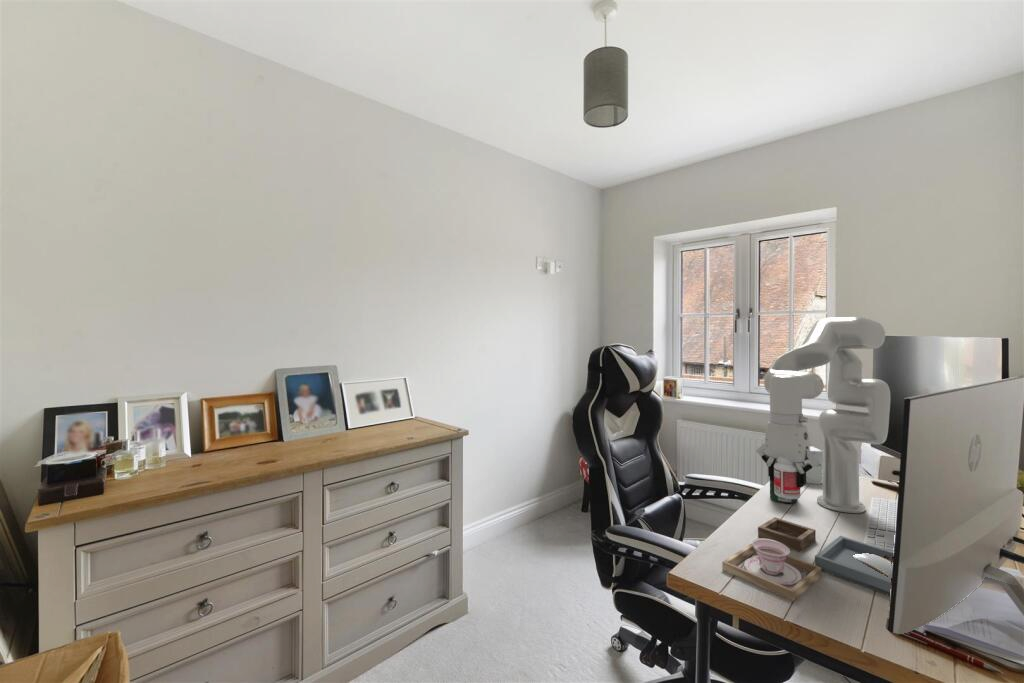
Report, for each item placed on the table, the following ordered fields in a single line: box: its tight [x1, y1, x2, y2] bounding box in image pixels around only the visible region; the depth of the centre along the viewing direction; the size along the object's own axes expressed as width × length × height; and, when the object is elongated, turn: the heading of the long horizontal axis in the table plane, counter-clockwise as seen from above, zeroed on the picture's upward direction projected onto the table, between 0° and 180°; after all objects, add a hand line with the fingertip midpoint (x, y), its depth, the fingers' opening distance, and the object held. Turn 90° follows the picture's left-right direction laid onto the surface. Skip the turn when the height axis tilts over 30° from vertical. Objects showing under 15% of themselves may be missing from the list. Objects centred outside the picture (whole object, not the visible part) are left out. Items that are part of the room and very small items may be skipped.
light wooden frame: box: [721, 543, 823, 602], centre depth 104 cm, size 16×16×2 cm
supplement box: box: [804, 446, 823, 485], centre depth 165 cm, size 7×7×13 cm
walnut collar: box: [757, 517, 817, 553], centre depth 120 cm, size 10×10×3 cm
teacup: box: [743, 537, 803, 586], centre depth 105 cm, size 12×12×6 cm
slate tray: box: [814, 535, 894, 597], centre depth 104 cm, size 17×17×3 cm
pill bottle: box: [774, 457, 801, 500], centre depth 120 cm, size 6×6×11 cm
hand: (786, 482), depth 120 cm, fingers closed on pill bottle, 6 cm apart
